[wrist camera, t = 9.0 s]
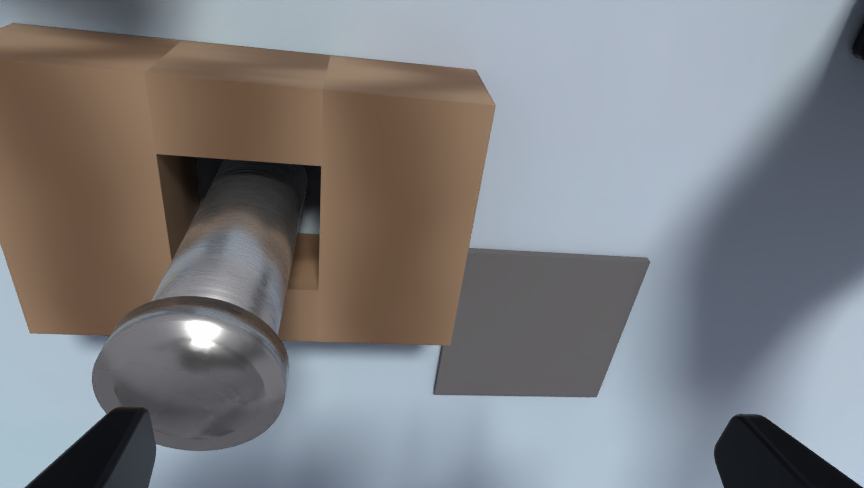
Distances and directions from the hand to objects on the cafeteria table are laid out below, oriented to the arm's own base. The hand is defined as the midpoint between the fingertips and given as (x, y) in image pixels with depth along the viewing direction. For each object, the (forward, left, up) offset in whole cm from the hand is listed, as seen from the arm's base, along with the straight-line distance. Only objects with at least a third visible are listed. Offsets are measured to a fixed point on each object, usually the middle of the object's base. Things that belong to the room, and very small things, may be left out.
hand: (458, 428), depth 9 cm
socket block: (+5, +2, -13) cm, 14 cm away
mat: (-7, +9, -13) cm, 17 cm away
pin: (+5, +3, -13) cm, 14 cm away
